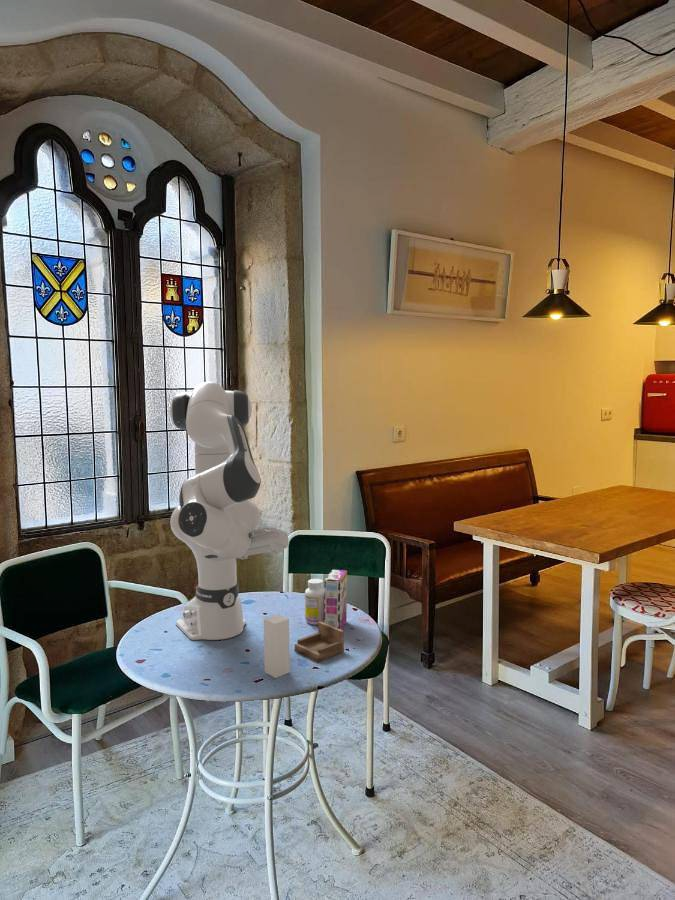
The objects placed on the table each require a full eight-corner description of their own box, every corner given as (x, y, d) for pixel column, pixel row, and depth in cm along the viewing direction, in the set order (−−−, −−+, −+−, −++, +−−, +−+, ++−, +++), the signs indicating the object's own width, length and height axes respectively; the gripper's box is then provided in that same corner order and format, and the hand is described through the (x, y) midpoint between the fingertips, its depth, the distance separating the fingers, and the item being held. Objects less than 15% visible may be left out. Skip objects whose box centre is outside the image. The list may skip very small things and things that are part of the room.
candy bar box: (340, 635, 184) (340, 580, 183) (323, 634, 185) (323, 579, 184) (347, 621, 195) (347, 569, 194) (331, 620, 196) (331, 568, 195)
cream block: (264, 672, 161) (263, 618, 160) (280, 666, 164) (279, 613, 163) (275, 678, 158) (274, 623, 156) (291, 671, 161) (290, 618, 160)
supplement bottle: (321, 616, 200) (321, 576, 199) (330, 623, 194) (330, 582, 193) (301, 619, 197) (301, 579, 196) (310, 626, 191) (310, 585, 190)
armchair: (294, 651, 173) (294, 630, 173) (320, 641, 180) (320, 621, 179) (317, 662, 167) (317, 640, 166) (343, 651, 173) (343, 630, 172)
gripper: (272, 516, 143) (299, 533, 155) (195, 532, 150) (227, 547, 161) (272, 543, 140) (300, 558, 152) (194, 558, 147) (227, 571, 159)
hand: (262, 552), depth 157 cm, fingers open, 8 cm apart
